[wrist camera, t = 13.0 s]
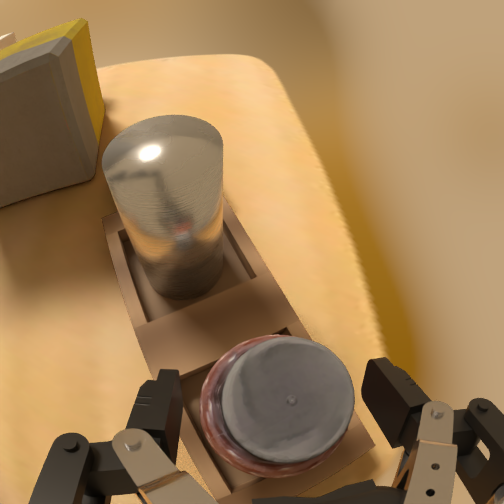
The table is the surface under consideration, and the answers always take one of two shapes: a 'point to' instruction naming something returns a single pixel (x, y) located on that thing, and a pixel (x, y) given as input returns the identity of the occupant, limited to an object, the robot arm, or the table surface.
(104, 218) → the brown wooden tray
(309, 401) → the supplement bottle
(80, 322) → the table surface
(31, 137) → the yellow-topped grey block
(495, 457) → the robot arm
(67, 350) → the table surface
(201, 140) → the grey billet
